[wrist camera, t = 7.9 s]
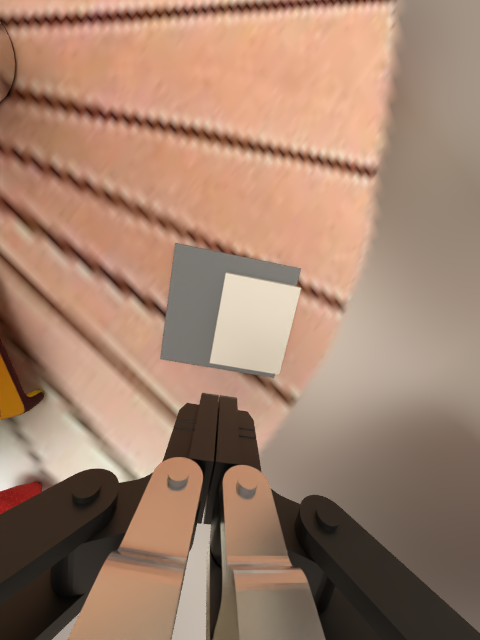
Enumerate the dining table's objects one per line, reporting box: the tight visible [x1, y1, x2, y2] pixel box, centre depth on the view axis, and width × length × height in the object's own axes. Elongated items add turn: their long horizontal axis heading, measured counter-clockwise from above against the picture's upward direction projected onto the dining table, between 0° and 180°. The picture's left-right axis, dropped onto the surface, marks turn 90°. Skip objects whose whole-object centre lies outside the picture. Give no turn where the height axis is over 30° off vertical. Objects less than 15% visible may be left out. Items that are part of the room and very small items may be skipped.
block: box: [210, 272, 301, 375], centre depth 28 cm, size 3×10×8 cm
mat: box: [160, 243, 301, 378], centre depth 30 cm, size 14×14×1 cm
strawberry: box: [0, 482, 42, 514], centre depth 30 cm, size 6×8×10 cm
